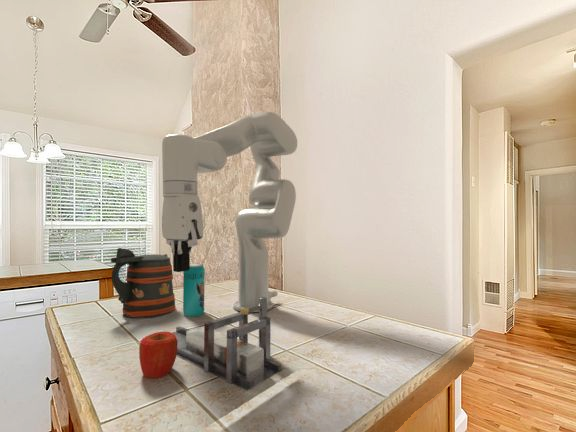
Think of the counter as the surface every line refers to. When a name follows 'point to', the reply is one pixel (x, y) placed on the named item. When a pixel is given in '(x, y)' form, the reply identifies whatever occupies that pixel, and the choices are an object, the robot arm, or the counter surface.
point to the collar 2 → (242, 330)
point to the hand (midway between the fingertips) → (181, 270)
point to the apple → (157, 354)
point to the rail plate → (218, 369)
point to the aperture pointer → (262, 312)
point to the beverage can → (193, 290)
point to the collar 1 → (209, 335)
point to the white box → (247, 354)
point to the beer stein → (144, 284)
